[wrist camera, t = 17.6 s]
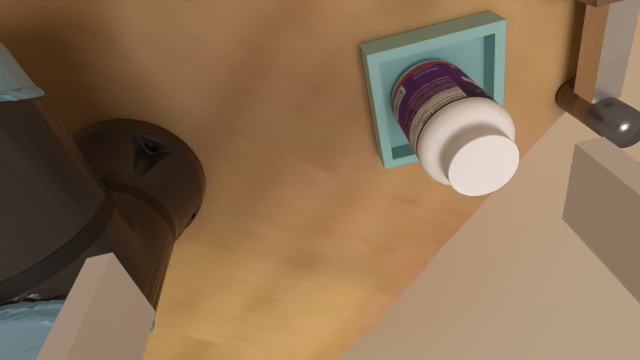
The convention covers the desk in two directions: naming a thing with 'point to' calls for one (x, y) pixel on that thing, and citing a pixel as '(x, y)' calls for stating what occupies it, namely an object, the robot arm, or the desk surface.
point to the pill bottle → (455, 128)
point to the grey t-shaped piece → (604, 74)
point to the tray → (421, 45)
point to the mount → (598, 2)
